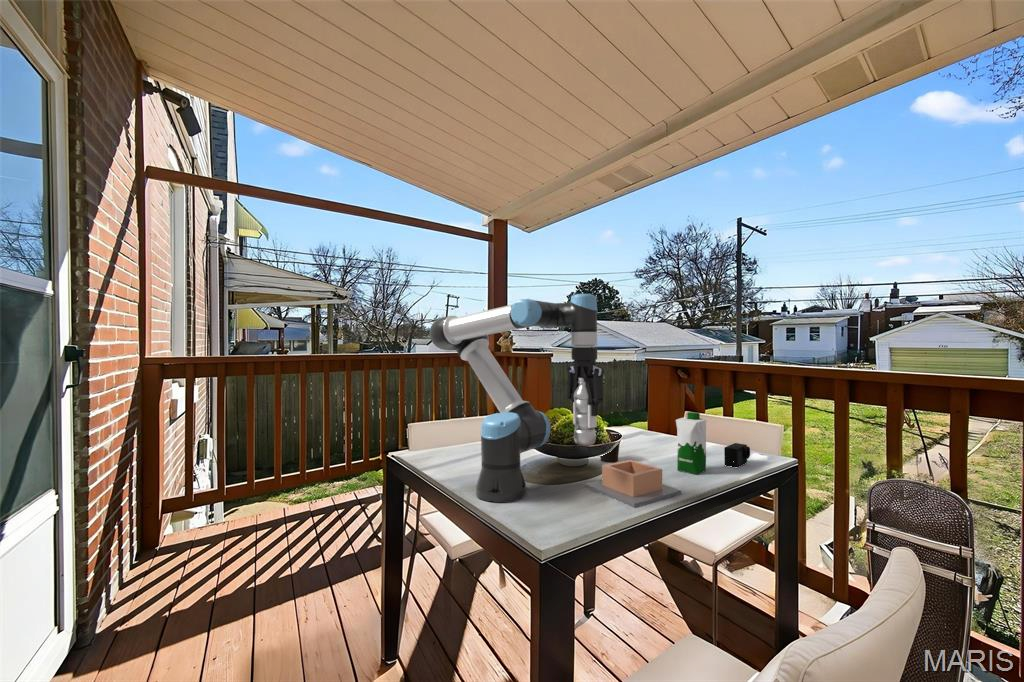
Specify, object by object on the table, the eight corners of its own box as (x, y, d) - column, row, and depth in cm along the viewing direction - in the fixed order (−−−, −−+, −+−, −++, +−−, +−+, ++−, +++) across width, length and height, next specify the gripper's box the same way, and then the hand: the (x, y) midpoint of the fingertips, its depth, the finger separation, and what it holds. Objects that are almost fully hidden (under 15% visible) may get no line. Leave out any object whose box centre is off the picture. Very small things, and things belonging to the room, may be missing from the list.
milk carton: (709, 470, 150) (708, 413, 150) (698, 476, 144) (697, 416, 144) (685, 465, 156) (684, 410, 156) (673, 470, 150) (672, 413, 150)
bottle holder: (634, 507, 116) (634, 481, 116) (584, 487, 133) (584, 464, 133) (681, 493, 127) (681, 470, 127) (630, 476, 144) (629, 455, 144)
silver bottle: (599, 444, 127) (598, 376, 127) (591, 448, 121) (590, 378, 121) (578, 441, 130) (578, 376, 131) (570, 446, 124) (569, 377, 125)
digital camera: (740, 469, 151) (740, 449, 152) (724, 466, 155) (724, 447, 156) (750, 463, 159) (750, 444, 159) (735, 461, 162) (734, 442, 163)
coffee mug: (615, 464, 158) (614, 437, 158) (593, 461, 163) (593, 434, 163) (627, 458, 167) (627, 432, 167) (606, 454, 172) (606, 430, 172)
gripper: (616, 346, 120) (617, 429, 120) (573, 346, 136) (573, 419, 136) (596, 346, 116) (597, 432, 116) (554, 346, 132) (555, 421, 132)
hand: (584, 425), depth 126 cm, fingers closed on silver bottle, 6 cm apart
